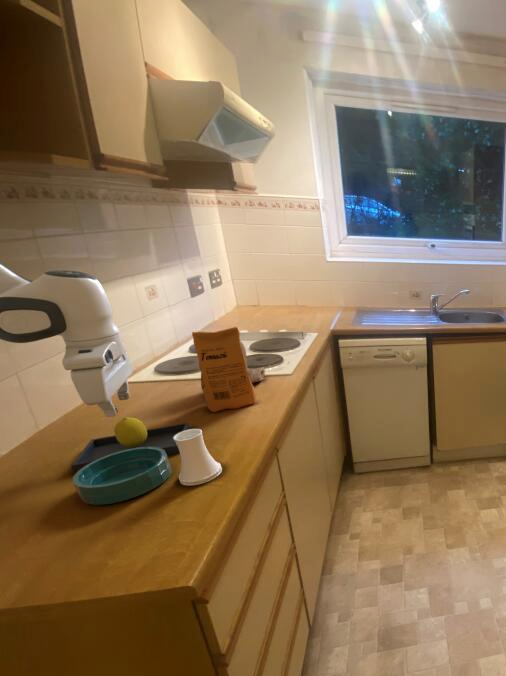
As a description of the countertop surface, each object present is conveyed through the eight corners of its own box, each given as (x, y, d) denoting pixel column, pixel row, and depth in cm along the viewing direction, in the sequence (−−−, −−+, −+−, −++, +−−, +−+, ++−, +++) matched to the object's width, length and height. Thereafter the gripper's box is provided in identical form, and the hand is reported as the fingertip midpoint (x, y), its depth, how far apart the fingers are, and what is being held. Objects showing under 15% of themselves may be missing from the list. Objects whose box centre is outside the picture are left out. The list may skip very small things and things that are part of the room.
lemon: (120, 456, 98) (107, 425, 95) (123, 445, 103) (111, 415, 100) (150, 449, 101) (139, 419, 98) (152, 439, 106) (141, 409, 102)
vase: (221, 479, 91) (208, 437, 87) (177, 489, 88) (162, 447, 84) (222, 461, 97) (210, 422, 93) (182, 471, 94) (167, 431, 90)
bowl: (69, 515, 81) (59, 495, 79) (96, 474, 93) (88, 456, 91) (164, 493, 87) (157, 475, 85) (178, 457, 99) (172, 440, 97)
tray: (74, 473, 93) (71, 465, 92) (94, 446, 103) (91, 439, 102) (182, 452, 101) (179, 444, 100) (190, 429, 111) (188, 422, 110)
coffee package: (209, 401, 126) (187, 328, 118) (257, 392, 132) (239, 322, 123) (205, 414, 118) (182, 337, 110) (257, 405, 124) (238, 331, 115)
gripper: (95, 337, 99) (115, 392, 105) (57, 365, 83) (84, 429, 88) (129, 334, 102) (147, 388, 107) (100, 360, 85) (123, 423, 91)
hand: (119, 406), depth 98 cm, fingers open, 8 cm apart
